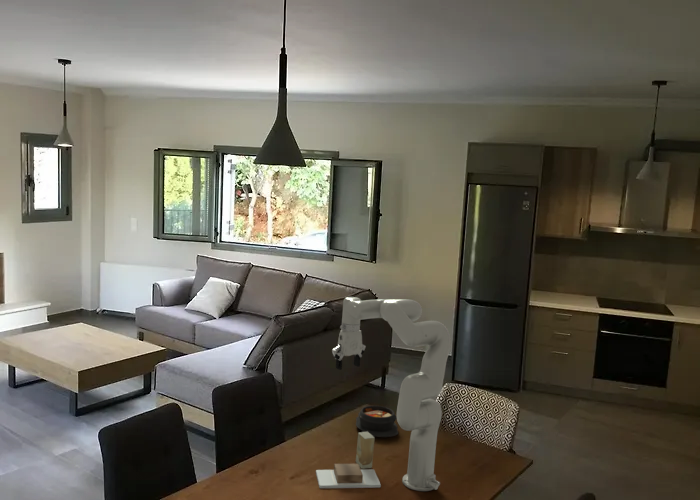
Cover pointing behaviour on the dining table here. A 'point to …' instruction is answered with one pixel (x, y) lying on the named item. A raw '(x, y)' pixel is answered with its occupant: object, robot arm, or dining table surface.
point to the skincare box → (365, 450)
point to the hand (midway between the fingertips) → (347, 367)
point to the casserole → (377, 421)
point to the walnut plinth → (348, 473)
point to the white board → (329, 481)
